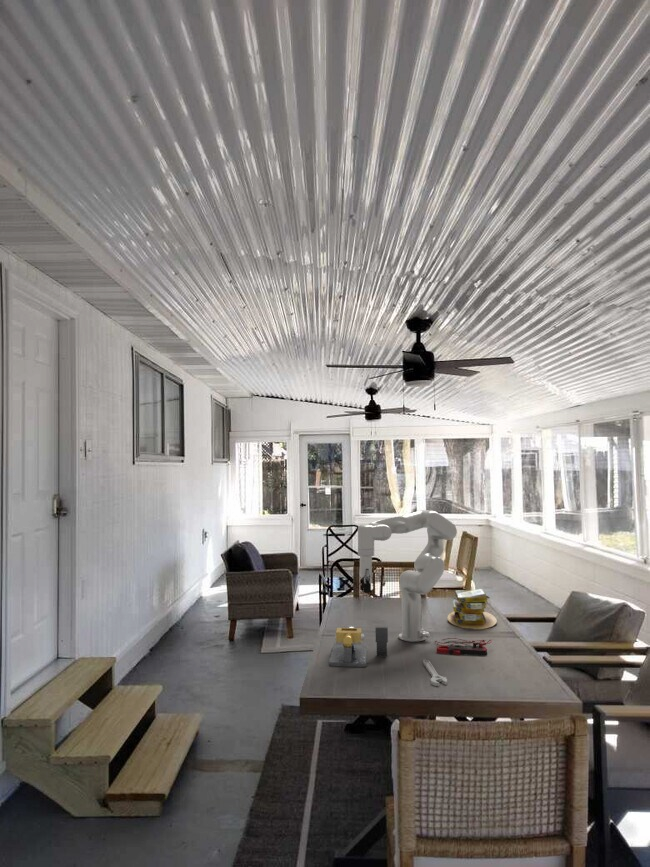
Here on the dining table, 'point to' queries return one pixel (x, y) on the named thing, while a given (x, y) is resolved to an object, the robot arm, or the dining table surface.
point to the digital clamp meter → (463, 648)
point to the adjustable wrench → (434, 674)
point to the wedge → (381, 640)
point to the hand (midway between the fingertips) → (366, 590)
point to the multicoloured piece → (349, 648)
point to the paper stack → (471, 610)
